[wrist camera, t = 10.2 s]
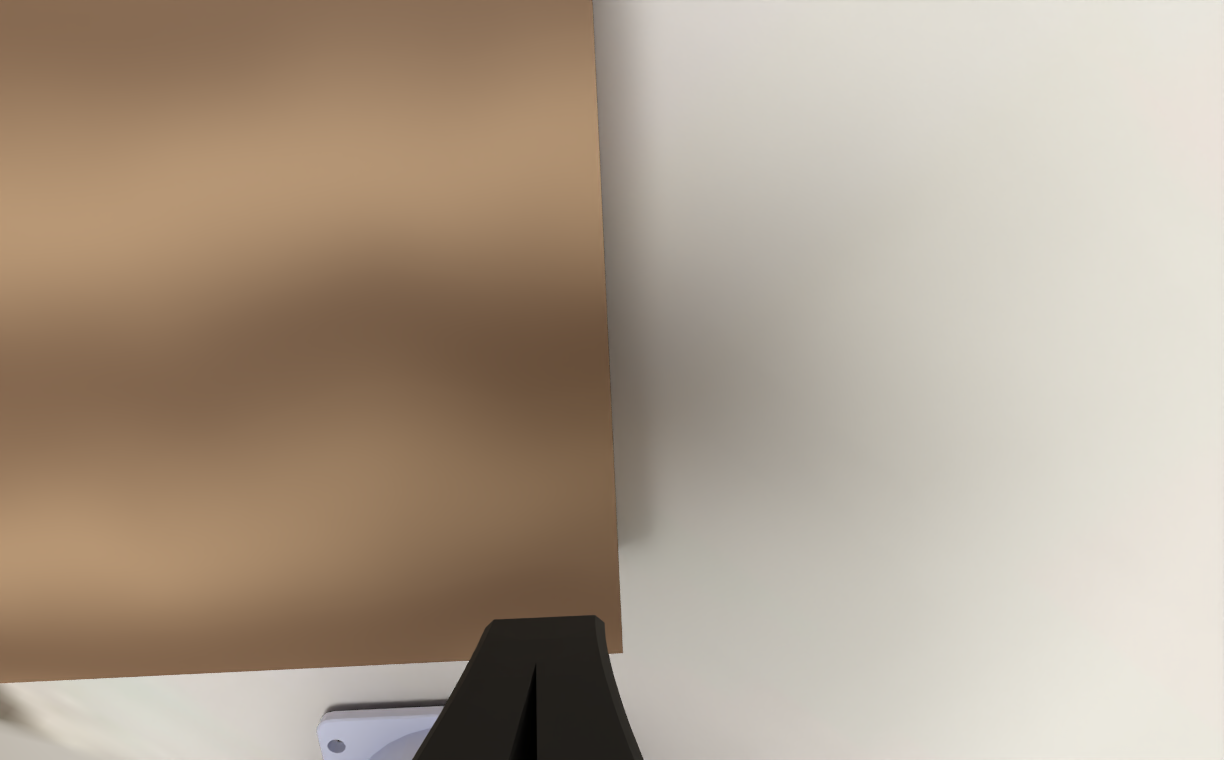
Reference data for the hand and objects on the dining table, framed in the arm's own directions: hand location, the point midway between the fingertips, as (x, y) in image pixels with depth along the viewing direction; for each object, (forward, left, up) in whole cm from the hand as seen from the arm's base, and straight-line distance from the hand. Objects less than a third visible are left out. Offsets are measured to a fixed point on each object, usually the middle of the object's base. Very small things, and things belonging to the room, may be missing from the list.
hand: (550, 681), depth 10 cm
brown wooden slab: (+2, +8, -10) cm, 13 cm away
